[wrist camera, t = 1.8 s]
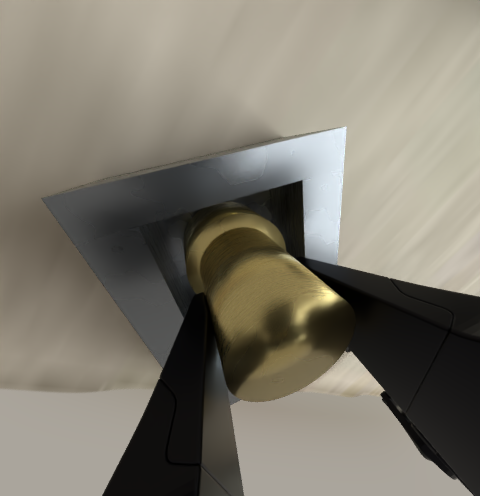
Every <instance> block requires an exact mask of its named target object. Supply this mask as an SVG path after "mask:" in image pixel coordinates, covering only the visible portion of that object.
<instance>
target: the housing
mask: <svg viewBox="0 0 480 496" xmlns="http://www.w3.org/2000/svg"><path fill="white" fill-rule="evenodd" d="M346 127H347V126H346ZM346 127H340V128H334V129H329V130H323V131H317V132H312V133H306V134H300V135H295V136H289V137H283V138H279V139H275V140H270V141H266V142H262V143H257V144H253V145H249V146H245V147H240V148H236V149H232V150H227V151H223V152H219V153H214V154H210V155H206V156H201V157H197V158H193V159H188V160H184V161H180V162H175V163H171V164H167V165H163V166H158V167H154V168H150V169H145V170H141V171H137V172H132V173H128V174H124V175H119V176H115V177H111V178H106V179H102V180H98V181H95V182H92V183H88V184H85V185H82V186H79V187H76V188H73V189H69V190H66V191H63V192H60V193H57V194H54V195H51V196H47V197H44V198H41V199H42V200H43V202H44V203H45V204H46V206H47V207H48V209H49V210H50V211H51V213H52V214H53V216H54V217H55V218H56V220H57V221H58V223H59V224H60V225H61V227H62V228H63V230H64V231H65V232H66V234H67V235H68V237H69V238H70V239H71V241H72V242H73V244H74V245H75V246H76V248H77V249H78V251H79V252H80V253H81V255H82V256H83V258H84V259H85V260H86V262H87V263H88V265H89V266H90V267H91V269H92V270H93V272H94V273H95V274H96V276H97V277H98V279H99V280H100V281H101V283H102V284H103V286H104V287H105V288H106V290H107V291H108V293H109V294H110V295H111V297H112V298H113V300H114V301H115V302H116V304H117V305H118V307H119V308H120V309H121V311H122V312H123V314H124V315H125V316H126V318H127V319H128V321H129V322H130V323H131V325H132V326H133V328H134V329H135V330H136V332H137V333H138V335H139V336H140V337H141V339H142V340H143V342H144V343H145V344H146V346H147V347H148V349H149V350H150V351H151V353H152V354H153V356H154V357H155V358H156V360H157V361H158V363H159V364H160V365H161V367H162V368H164V365H165V363H166V360H167V358H168V356H169V353H170V351H171V348H172V346H173V344H174V341H175V339H176V337H177V334H178V332H179V329H180V327H181V325H182V322H183V320H184V317H185V315H186V313H187V310H188V308H189V305H190V303H191V301H192V298H193V296H194V295H196V293H195V292H194V290H193V289H192V287H191V286H190V284H189V281H188V278H187V272H186V264H185V256H184V247H183V238H184V233H185V229H186V227H187V225H188V223H189V222H190V220H191V219H192V217H193V216H194V215H195V214H196V213H197V212H198V211H200V210H201V209H202V208H205V207H209V206H212V205H216V204H219V203H223V202H226V201H233V202H238V203H241V204H243V205H245V206H247V207H249V208H250V209H252V210H253V211H255V212H256V213H258V214H259V215H261V216H262V217H264V218H265V219H267V220H268V221H270V222H271V223H272V224H274V225H275V226H276V227H277V228H278V230H279V231H280V233H281V234H282V236H283V239H284V242H285V246H286V251H287V252H288V253H289V254H290V255H291V256H293V257H294V258H296V257H299V256H301V257H305V258H309V259H314V260H318V261H322V262H326V263H330V264H334V265H337V259H338V244H339V230H340V215H341V200H342V186H343V171H344V156H345V142H346ZM227 390H228V396H229V403H230V405H232V404H234V403H236V402H237V401H240V400H242V399H239V398H237V397H235V396H234V395H233V394H232V393H231V392H230V391H229V389H228V388H227Z"/></svg>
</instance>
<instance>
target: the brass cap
mask: <svg viewBox="0 0 480 496" xmlns="http://www.w3.org/2000/svg"><path fill="white" fill-rule="evenodd" d="M183 247H184V256H185V264H186V272H187V278H188V281H189V284H190V286H191V287H192V289H193V290H194V292H195V293H196V294H198V293H201V292H204V294H205V297H206V301H207V305H208V310H209V314H210V318H211V323H212V327H213V331H214V335H215V340H216V344H217V348H218V352H219V357H220V361H221V365H222V369H223V374H224V378H225V382H226V385H227V388H228V389H229V391H230V392H231V393H232V394H233V395H234V396H235V397H237V398H239V399H242V400H244V401H250V402H264V401H270V400H275V399H278V398H281V397H285V396H287V395H289V394H292V393H294V392H296V391H298V390H300V389H302V388H304V387H306V386H307V385H309V384H310V383H312V382H313V381H315V380H316V379H318V378H319V377H320V376H321V375H323V374H324V373H325V372H326V371H327V370H328V369H330V368H331V367H332V366H333V365H334V364H335V362H336V361H337V360H338V359H339V358H340V357H341V355H342V354H343V353H344V351H345V350H346V348H347V347H348V345H349V343H350V341H351V339H352V336H353V334H354V330H355V326H356V317H355V312H354V310H353V308H352V306H351V305H350V304H349V303H348V302H347V301H346V300H345V299H343V298H342V297H341V296H340V295H339V294H337V293H336V292H335V291H334V290H332V289H331V288H330V287H329V286H328V285H326V284H325V283H324V282H323V281H322V280H320V279H319V278H318V277H317V276H316V275H314V274H313V273H312V272H311V271H310V270H308V269H307V268H306V267H305V266H303V265H302V264H301V263H300V262H299V261H297V260H296V259H295V258H294V257H293V256H291V255H290V254H289V253H288V252H287V251H286V246H285V242H284V239H283V236H282V234H281V233H280V231H279V230H278V228H277V227H276V226H275V225H274V224H272V223H271V222H270V221H268V220H267V219H265V218H264V217H262V216H261V215H259V214H258V213H256V212H255V211H253V210H252V209H250V208H249V207H247V206H245V205H243V204H241V203H238V202H233V201H226V202H223V203H219V204H216V205H212V206H209V207H205V208H202V209H201V210H200V211H198V212H197V213H196V214H195V215H194V216H193V217H192V219H191V220H190V222H189V223H188V225H187V227H186V229H185V233H184V238H183Z"/></svg>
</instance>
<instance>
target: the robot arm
mask: <svg viewBox="0 0 480 496" xmlns="http://www.w3.org/2000/svg"><path fill="white" fill-rule="evenodd" d="M295 259H296V260H297V261H299V262H300V263H301V264H302V265H303V266H305V267H306V268H307V269H308V270H310V271H311V272H312V273H313V274H314V275H316V276H317V277H318V278H319V279H320V280H322V281H323V282H324V283H325V284H326V285H328V286H329V287H330V288H331V289H332V290H334V291H335V292H336V293H337V294H339V295H340V296H341V297H342V298H343V299H345V300H346V301H347V302H348V303H349V304H350V305H351V306H352V308H353V310H354V312H355V317H356V326H355V330H354V334H353V336H352V339H351V341H350V343H349V345H348V347H347V348H346V350H345V351H346V352H350V351H352V352H353V354H354V355H355V356H356V357H357V358H358V359H359V361H360V362H361V363H362V364H363V365H364V366H365V368H366V369H367V370H368V371H369V372H370V373H371V375H372V376H373V377H374V378H375V379H376V380H377V382H378V383H379V384H380V385H381V386H382V387H383V389H384V390H385V391H383V392H382V393H381V394H380V395H381V396H382V398H383V399H382V400H383V402H384V403H385V404H386V405H387V406H388V407H389V409H390V410H391V411H392V413H393V414H394V415H395V417H396V418H397V419H398V421H399V422H400V423H401V425H402V426H403V427H404V429H405V430H406V432H407V433H408V435H409V436H410V438H411V439H412V441H413V442H414V444H415V446H416V447H417V448H418V450H419V451H420V453H421V454H422V455H423V457H424V458H426V459H427V460H430V461H432V462H434V463H435V464H436V465H437V466H438V467H439V468H440V469H441V470H442V471H443V472H445V473H446V474H447V475H448V476H449V477H451V478H452V479H454V480H455V479H457V478H458V479H459V480H460V481H461V483H463V485H464V486H465V487H466V488H467V489H468V490H469V491H470V492H471V493H472V494H473V495H474V496H480V297H479V296H473V295H468V294H463V293H457V292H452V291H447V290H442V289H437V288H432V287H427V286H422V285H418V284H413V283H409V282H404V281H400V280H396V279H392V278H390V279H389V278H388V277H384V276H380V275H375V274H371V273H367V272H363V271H359V270H355V269H351V268H347V267H342V266H338V265H334V264H330V263H326V262H322V261H318V260H314V259H309V258H305V257H301V256H299V257H296V258H295ZM102 496H244V493H243V486H242V480H241V474H240V467H239V461H238V454H237V448H236V442H235V435H234V429H233V422H232V416H231V409H230V403H229V396H228V390H227V385H226V382H225V378H224V374H223V369H222V365H221V361H220V357H219V352H218V348H217V344H216V340H215V335H214V331H213V327H212V323H211V318H210V314H209V310H208V305H207V301H206V297H205V294H204V292H201V293H198V294H196V295H194V296H193V298H192V301H191V303H190V305H189V308H188V310H187V313H186V315H185V317H184V320H183V322H182V325H181V327H180V329H179V332H178V334H177V337H176V339H175V341H174V344H173V346H172V348H171V351H170V353H169V356H168V358H167V360H166V363H165V365H164V368H163V370H162V372H161V375H160V379H159V380H158V382H157V384H156V386H155V389H154V391H153V394H152V396H151V398H150V400H149V403H148V405H147V407H146V409H145V412H144V414H143V416H142V418H141V420H140V422H139V424H138V426H137V428H136V430H135V432H134V434H133V436H132V439H131V440H130V443H129V444H128V446H127V448H126V450H125V452H124V454H123V456H122V458H121V460H120V462H119V464H118V466H117V468H116V470H115V472H114V474H113V476H112V478H111V480H110V481H109V483H108V485H107V487H106V489H105V491H104V493H103V495H102Z"/></svg>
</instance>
